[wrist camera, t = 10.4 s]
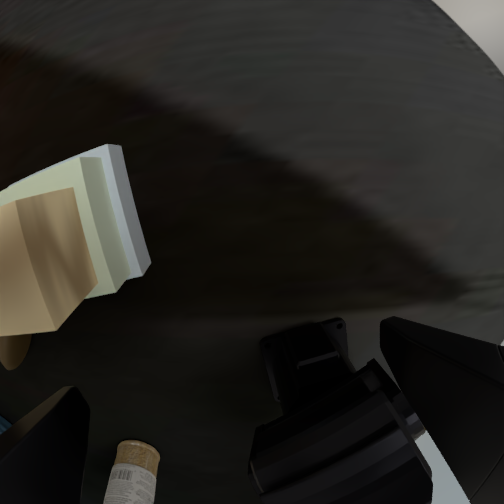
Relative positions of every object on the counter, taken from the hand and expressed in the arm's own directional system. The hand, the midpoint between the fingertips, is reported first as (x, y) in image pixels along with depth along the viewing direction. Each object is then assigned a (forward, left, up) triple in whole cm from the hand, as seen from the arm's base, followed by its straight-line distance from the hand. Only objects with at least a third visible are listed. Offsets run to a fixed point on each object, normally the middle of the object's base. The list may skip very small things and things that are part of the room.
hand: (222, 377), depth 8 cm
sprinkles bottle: (-18, +14, -13) cm, 27 cm away
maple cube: (+4, +9, -8) cm, 12 cm away
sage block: (+4, +9, -11) cm, 14 cm away
